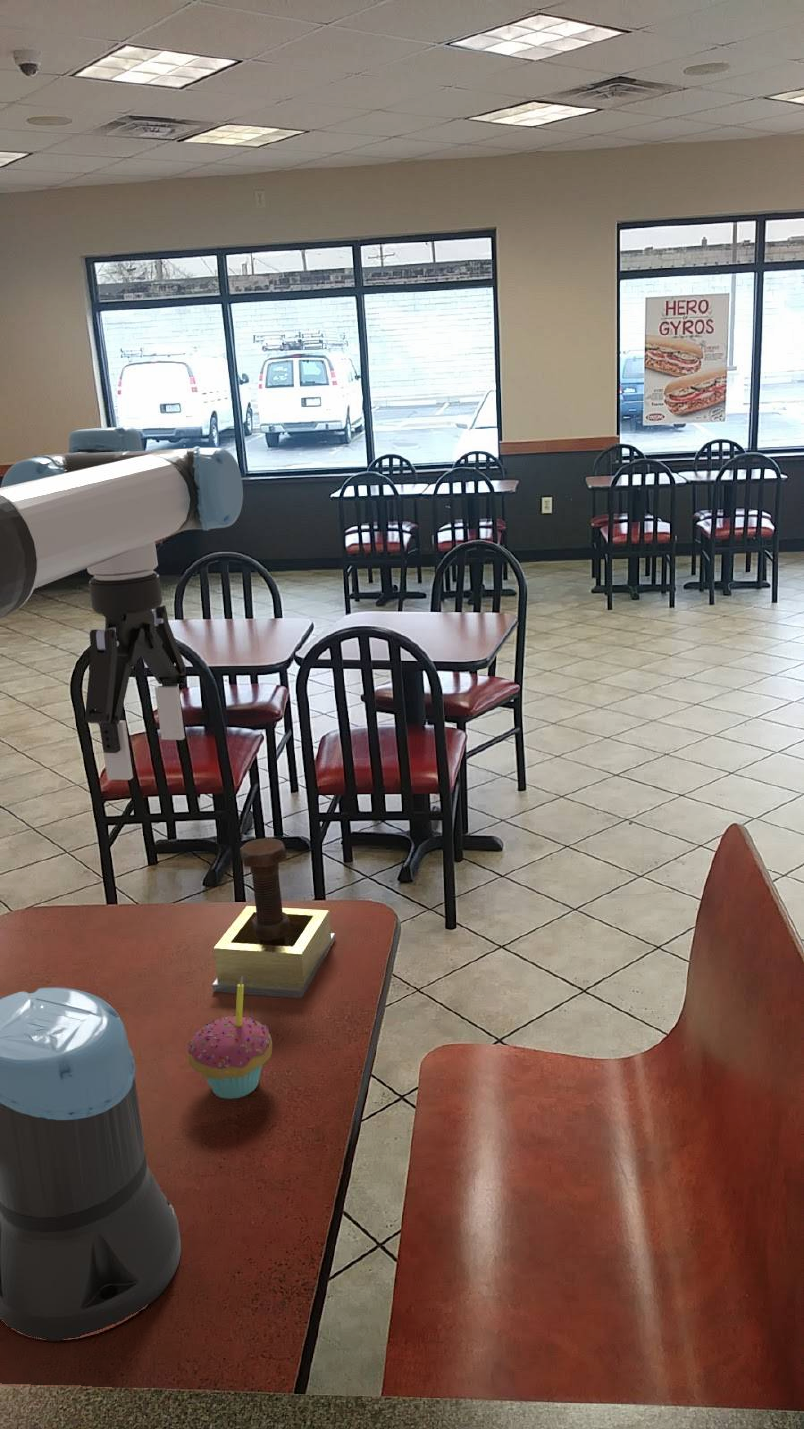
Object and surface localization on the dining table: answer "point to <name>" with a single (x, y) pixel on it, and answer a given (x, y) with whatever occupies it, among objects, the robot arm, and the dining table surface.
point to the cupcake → (231, 1052)
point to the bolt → (267, 889)
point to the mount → (273, 955)
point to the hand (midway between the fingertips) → (148, 757)
